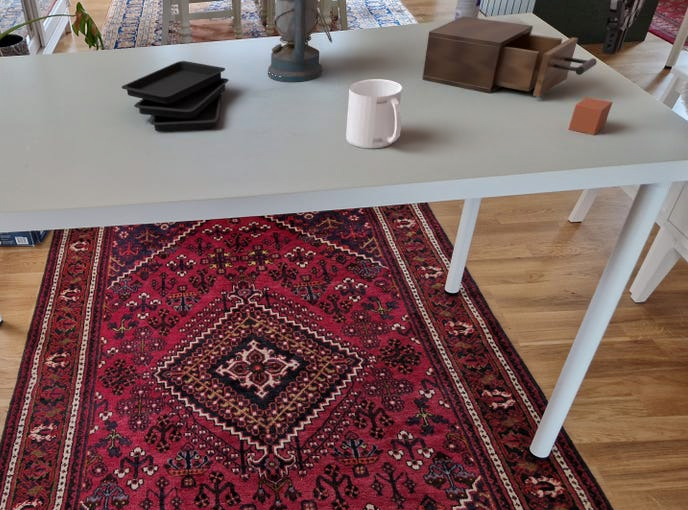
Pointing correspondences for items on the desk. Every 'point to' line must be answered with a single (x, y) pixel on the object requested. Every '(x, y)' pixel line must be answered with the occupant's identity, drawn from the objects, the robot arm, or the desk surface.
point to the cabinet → (469, 52)
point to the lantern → (296, 41)
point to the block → (590, 115)
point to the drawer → (538, 63)
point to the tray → (180, 96)
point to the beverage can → (467, 8)
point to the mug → (374, 113)
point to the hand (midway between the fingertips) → (610, 52)
